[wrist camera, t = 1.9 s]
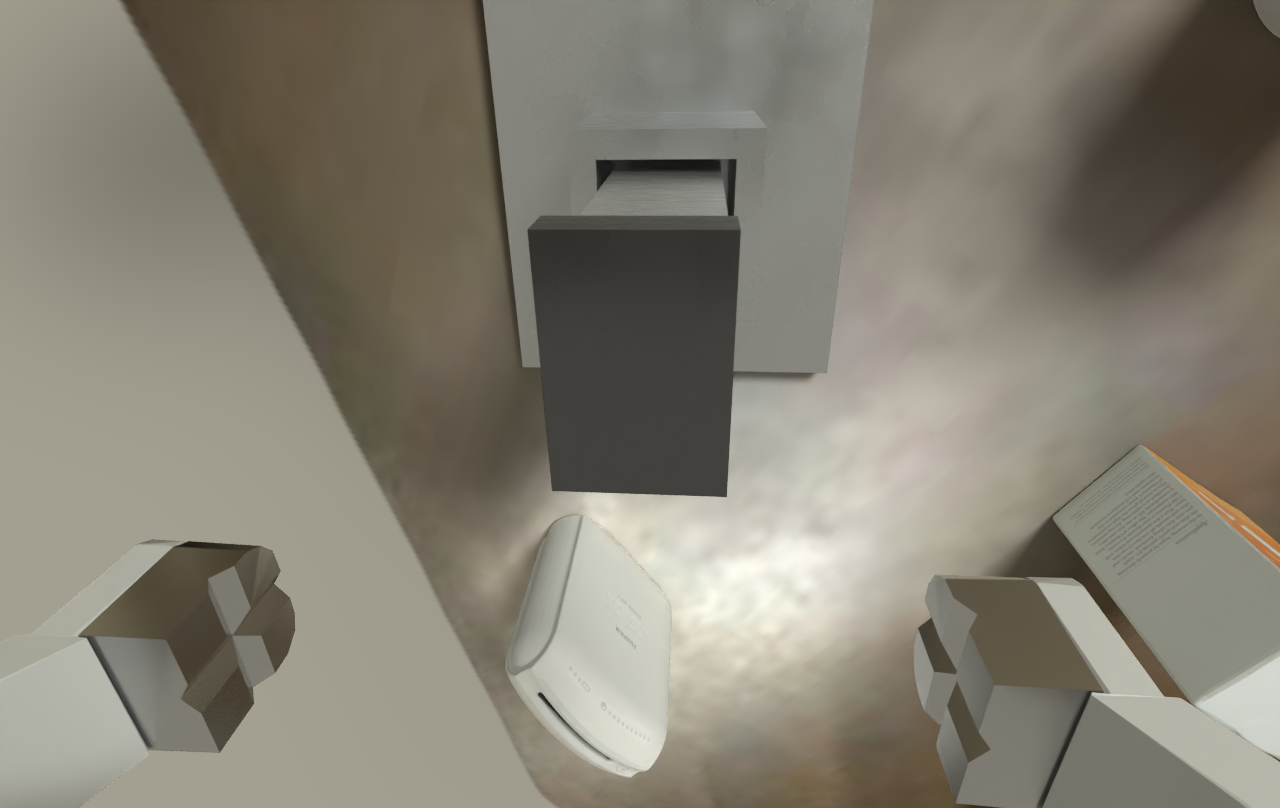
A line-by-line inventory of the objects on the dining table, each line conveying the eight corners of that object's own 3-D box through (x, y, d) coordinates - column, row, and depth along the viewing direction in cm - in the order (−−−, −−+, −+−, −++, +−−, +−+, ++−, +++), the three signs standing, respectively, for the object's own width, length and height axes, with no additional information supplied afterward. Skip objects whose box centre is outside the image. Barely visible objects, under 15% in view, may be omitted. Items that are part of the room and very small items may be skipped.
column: (627, 125, 30) (527, 229, 13) (719, 124, 29) (740, 230, 12) (630, 259, 32) (552, 490, 15) (714, 259, 32) (726, 496, 15)
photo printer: (682, 605, 45) (676, 784, 34) (632, 630, 46) (610, 810, 35) (585, 500, 41) (543, 662, 30) (534, 531, 43) (476, 696, 32)
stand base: (487, -29, 29) (290, -98, 15) (872, -40, 27) (1042, -128, 14) (527, 357, 37) (425, 539, 23) (823, 363, 36) (897, 558, 22)
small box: (1241, 508, 38) (1475, 710, 26) (1144, 578, 41) (1319, 787, 29) (1139, 438, 36) (1341, 619, 25) (1046, 515, 39) (1189, 710, 28)
